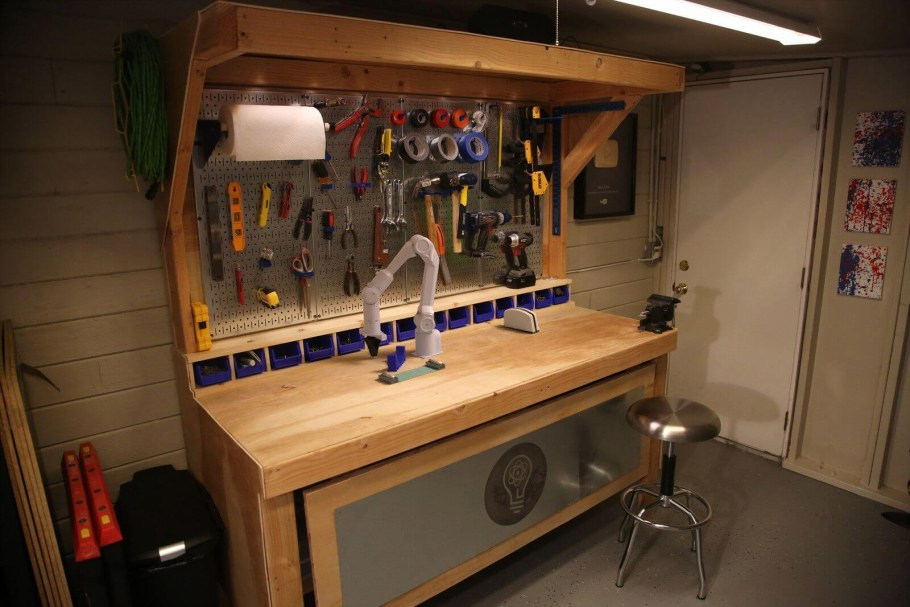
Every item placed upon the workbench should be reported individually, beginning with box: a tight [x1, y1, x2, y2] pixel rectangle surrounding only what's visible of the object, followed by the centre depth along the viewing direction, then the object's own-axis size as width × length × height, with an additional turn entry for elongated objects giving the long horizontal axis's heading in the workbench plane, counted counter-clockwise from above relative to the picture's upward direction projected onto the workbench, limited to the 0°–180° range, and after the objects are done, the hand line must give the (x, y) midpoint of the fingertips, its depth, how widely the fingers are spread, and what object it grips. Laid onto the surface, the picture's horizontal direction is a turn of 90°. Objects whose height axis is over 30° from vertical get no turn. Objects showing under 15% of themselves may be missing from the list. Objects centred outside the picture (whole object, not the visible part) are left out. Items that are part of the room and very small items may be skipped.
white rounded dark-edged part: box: [503, 307, 541, 333], centre depth 257 cm, size 17×5×10 cm, turn 43°
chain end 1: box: [377, 371, 399, 385], centre depth 199 cm, size 3×7×2 cm, turn 42°
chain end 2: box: [424, 358, 446, 371], centre depth 212 cm, size 3×7×2 cm, turn 42°
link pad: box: [391, 365, 438, 383], centre depth 206 cm, size 16×7×1 cm, turn 132°
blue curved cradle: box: [386, 345, 407, 373], centre depth 214 cm, size 12×4×6 cm, turn 169°
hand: (373, 356), depth 222 cm, fingers closed
